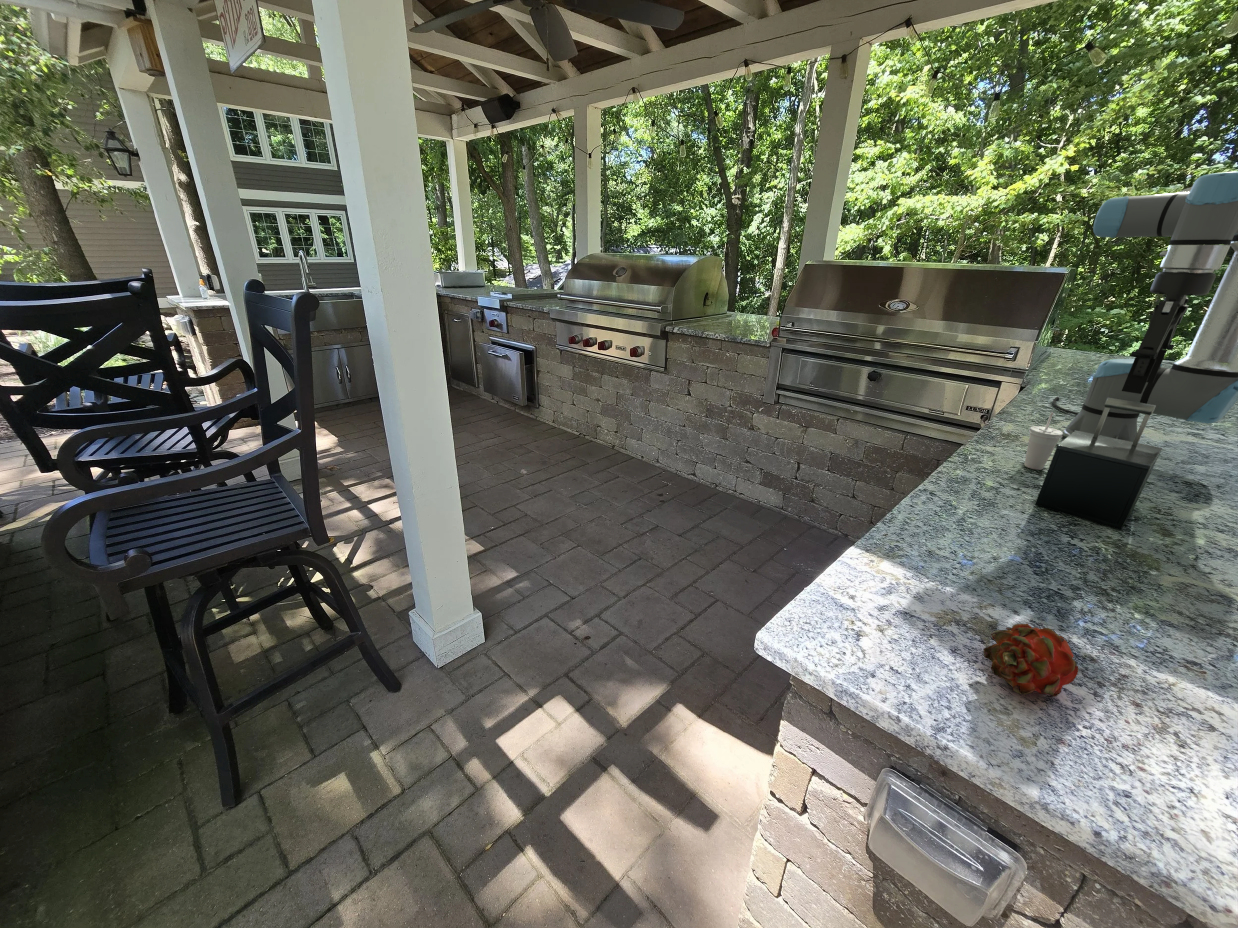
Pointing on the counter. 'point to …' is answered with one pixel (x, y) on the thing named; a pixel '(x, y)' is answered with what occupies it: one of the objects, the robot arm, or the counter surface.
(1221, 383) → the robot arm
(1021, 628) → the dragon fruit
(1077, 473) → the trash can
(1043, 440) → the smoothie
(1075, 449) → the trash lid
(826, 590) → the counter surface
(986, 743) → the counter surface
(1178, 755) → the counter surface
